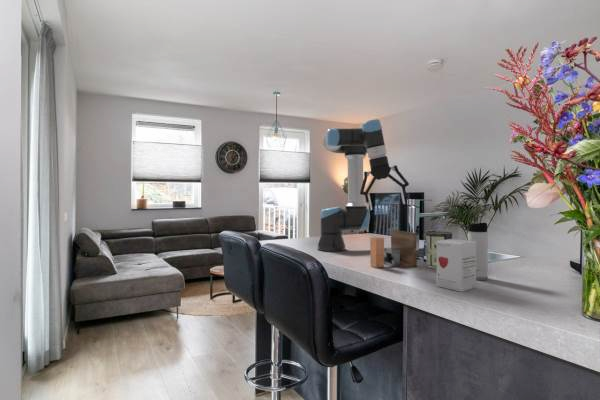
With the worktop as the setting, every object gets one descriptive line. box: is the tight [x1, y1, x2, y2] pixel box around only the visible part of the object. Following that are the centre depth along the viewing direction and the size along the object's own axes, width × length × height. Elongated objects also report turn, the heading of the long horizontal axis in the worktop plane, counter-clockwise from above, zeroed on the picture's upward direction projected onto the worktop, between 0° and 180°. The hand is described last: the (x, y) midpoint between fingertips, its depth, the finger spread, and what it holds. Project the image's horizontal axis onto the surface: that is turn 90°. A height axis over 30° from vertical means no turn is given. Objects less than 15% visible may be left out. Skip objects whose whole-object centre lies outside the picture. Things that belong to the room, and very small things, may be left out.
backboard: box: [390, 229, 418, 269], centre depth 155 cm, size 5×14×14 cm, turn 24°
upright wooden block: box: [369, 236, 402, 269], centre depth 152 cm, size 14×4×12 cm, turn 114°
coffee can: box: [425, 231, 453, 269], centre depth 149 cm, size 10×10×14 cm
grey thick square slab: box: [384, 247, 401, 268], centre depth 153 cm, size 3×7×7 cm, turn 24°
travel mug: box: [467, 222, 489, 281], centre depth 127 cm, size 6×7×20 cm
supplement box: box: [436, 238, 477, 292], centre depth 116 cm, size 9×9×15 cm
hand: (387, 206), depth 152 cm, fingers open, 13 cm apart
